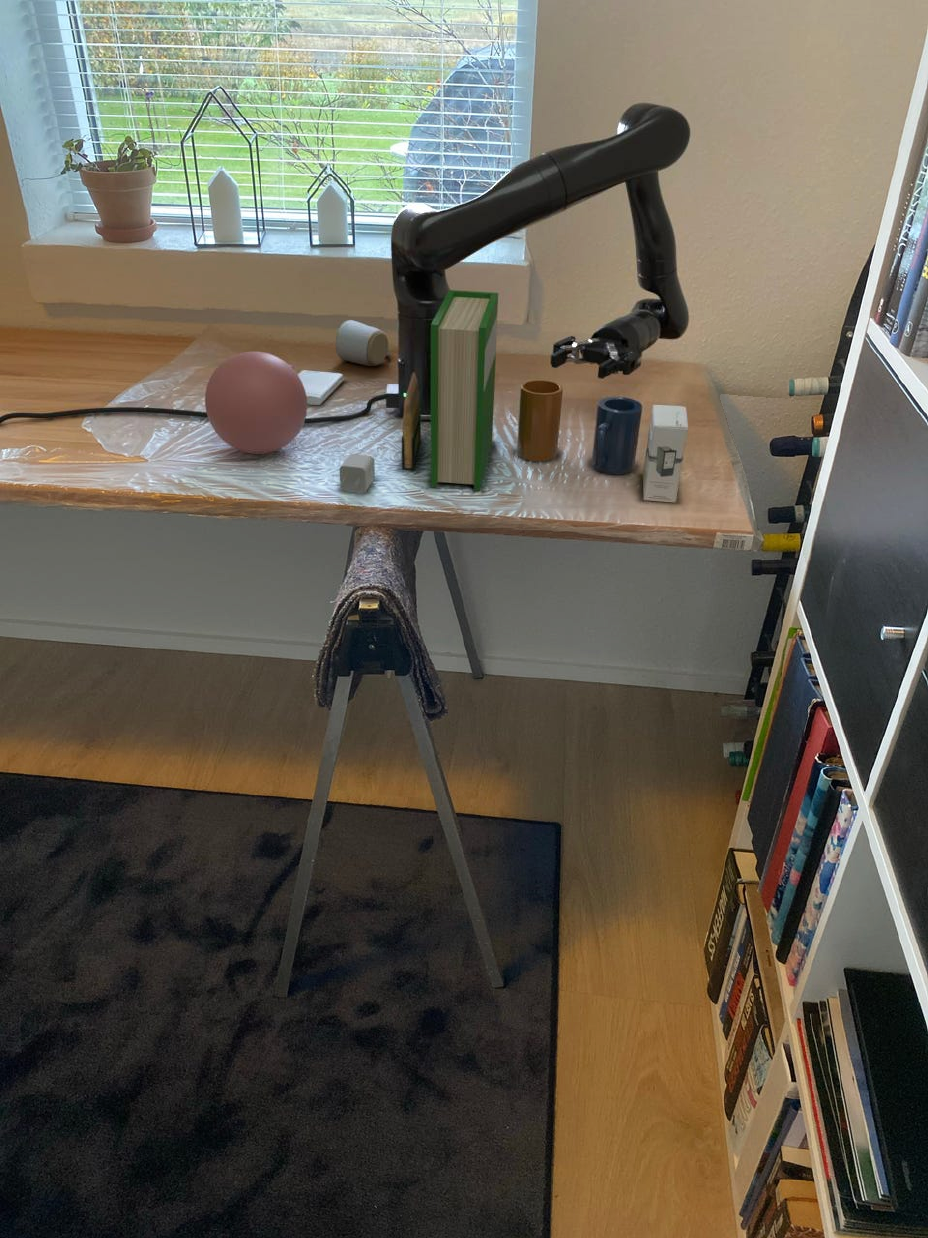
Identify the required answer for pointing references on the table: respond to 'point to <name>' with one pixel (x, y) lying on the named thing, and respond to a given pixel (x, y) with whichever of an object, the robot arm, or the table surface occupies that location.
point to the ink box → (664, 453)
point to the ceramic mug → (361, 343)
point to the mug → (616, 435)
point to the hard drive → (319, 385)
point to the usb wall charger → (357, 473)
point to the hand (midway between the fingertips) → (576, 366)
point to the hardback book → (462, 386)
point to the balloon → (256, 402)
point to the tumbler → (539, 420)
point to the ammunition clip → (411, 426)
